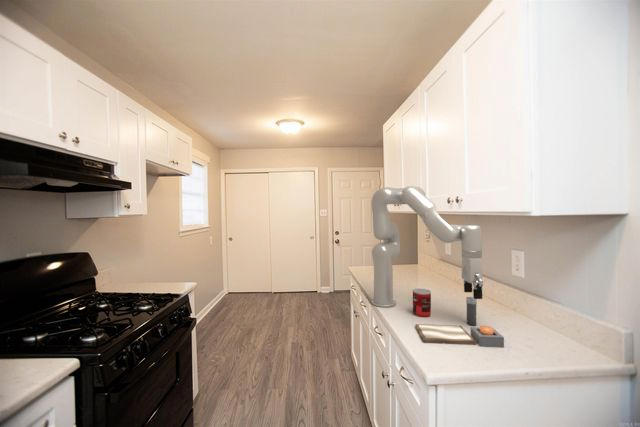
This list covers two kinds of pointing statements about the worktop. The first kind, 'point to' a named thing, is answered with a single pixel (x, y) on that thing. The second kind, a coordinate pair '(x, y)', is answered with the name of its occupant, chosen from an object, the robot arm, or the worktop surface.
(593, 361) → the worktop surface
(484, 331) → the button
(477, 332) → the button housing
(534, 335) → the worktop surface
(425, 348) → the worktop surface
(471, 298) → the grey tall cylinder
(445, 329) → the board
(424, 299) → the canned food
